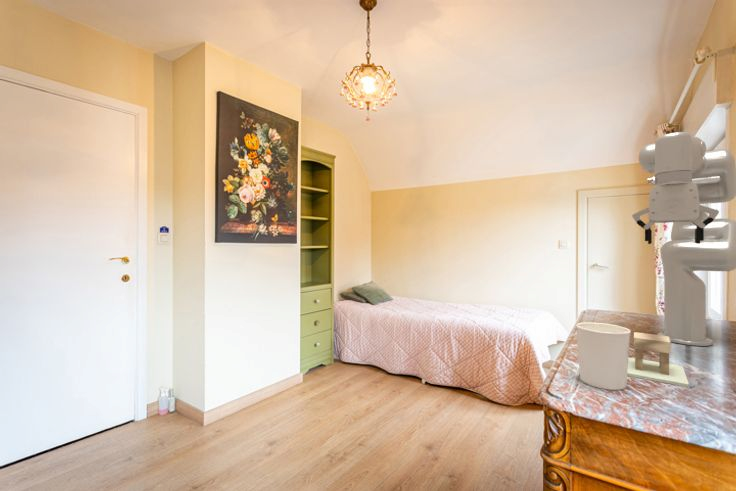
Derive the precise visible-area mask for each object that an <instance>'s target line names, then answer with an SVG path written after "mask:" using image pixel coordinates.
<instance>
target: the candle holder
mask: <svg viewBox="0 0 736 491" xmlns="http://www.w3.org/2000/svg"><path fill="white" fill-rule="evenodd" d="M575 328H576V337H577V338H576V340H577V354H578V357H577V358H578V368H579V378H580V380H581V381H582V382H583V383H585V385H586V384H587V385H588V386H591V387H595V388H599V389H602V390H611V391H618V390H619V391H620V390H624V389H626V388H627V381H628V376H627V372H628V358H629V356H630V342H631V333H632V331H631V329H630V328H627V327H624V326H621V325H616V324H610V323H603V322H589V321H588V322H578V323H576V324H575Z"/></svg>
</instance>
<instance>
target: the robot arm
mask: <svg viewBox="0 0 736 491" xmlns="http://www.w3.org/2000/svg"><path fill="white" fill-rule="evenodd" d="M638 163H639V166H640V167H641V168H642V170H643V171H644V172H646V173H649V174H654V176H653V177H650V178H649V177H648V178H647V184H653V185H654V186H651V188H650V192H649V197H648V207H646V208H644V209H642V210H640V211H638V212H635V213H633V214H632V219H633V220H634V221H635V222H636V224H637V225H638V226H639V227H640V228H642V229H644V242H647V244H648V245H651V244H653V243H652V242H653V241H652V238H653V237H652V229H651V228H652V226H653V225H654V224H655V223H656V224H658V223H660V224H661V223H667V224H668V223H672V227H671V230H670V231H671V232H670V240H668V241H667V242H664V244H663V245H662V246H661V248H660V257H661V258H660V259H661V264H662V268H663V281H664V282H663V283H664V288H663V290H664V291H663V292H664V295H663V296H664V300H663V302H664V303H663V304H664V305H663V306H664V310H663V313H664V315H663V316H664V319H663V320H664V324H663V325H664V326H663V327H664V328H663V330H664V331H660V332H658V333H657V335H662V336H669V339H670V342H671V343H673V344H674V343H675V344H682V345H688V346H695V347H696V346H697V347H700V346H701V347H708V346H713V345H714V340H713V339H711V338H709V337H706V336H707V322H706V319H707V316H706V315H707V313H706V311H707V310H706V309H707V305H706V302H707V301H706V300H707V296H706V295H707V294H706V292H707V288H706V287H707V286H706V284H705V282H704V281H703V280H702V279H701V278H700V277H699V276H698V275H697V274H696V273H695V272H699V271H700V272H701V271H702V272H732V271H734V270H736V220H735V219H732V218H716V217H717V216H718V215H719V213H720V211H719V210H718V209H715V208H710V207H708V206H705V204H706V205H707V204H719V203H720V204H721V203H727V202H732V201H733V200H734V199H735V198H736V159H735V157H734V154H733V153H732V151H730V150H729V149H726V148H721V149H719V148H718V149H715V150H714V149H713V150H708V151H707V145H706V142H705V141H704V140H703V139H701V138H700V137H697V136H693V135H691V133H689V132H686V131H676V132H670V133H666V134H663V135H661V136H658V137H657V138H656V139H655V141H654V142H653V143H650V144H646V145H644V146H642V147H641V149H640V151H639V154H638ZM646 214H648V220H649V221H648V222H647V223H645V222H644V221H643V220H642V219H641V218H640V217H642V216H644V215H646Z"/></svg>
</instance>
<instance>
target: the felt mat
mask: <svg viewBox="0 0 736 491" xmlns="http://www.w3.org/2000/svg"><path fill="white" fill-rule="evenodd" d="M627 377H632V378H637V379H644V380H649V381H655V382H658V383H664V384H671V385H674V386H675V385H676V386H679V387H680V386H681V387H685V388H690V383H689V381H688V378H687V375H686V373H685V369H684V367H683V365H679V364H673V363H672V364H671V363H669V375H665V374H661V368H660V361H654V360H647V359H643V371H642V370H636V369H635V357H629V358H628V372H627Z"/></svg>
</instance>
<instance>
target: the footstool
mask: <svg viewBox="0 0 736 491" xmlns="http://www.w3.org/2000/svg"><path fill="white" fill-rule="evenodd" d="M671 343H672V342H670V339H669V336H662V335H658V334H652V333H645V332H637V331H636V332H635V331H634V332H633V349H634V351H635V352H634V353H635V354H634V358H635V369H636V370H642V371H643V360H644V350H645V351H649V352H657V353H658V354H659V362H660V368H661V374H665V375H669V364H670V354H671V353H672V351H671V350H672V348H671V347H672V346H671V345H672V344H671Z"/></svg>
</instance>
